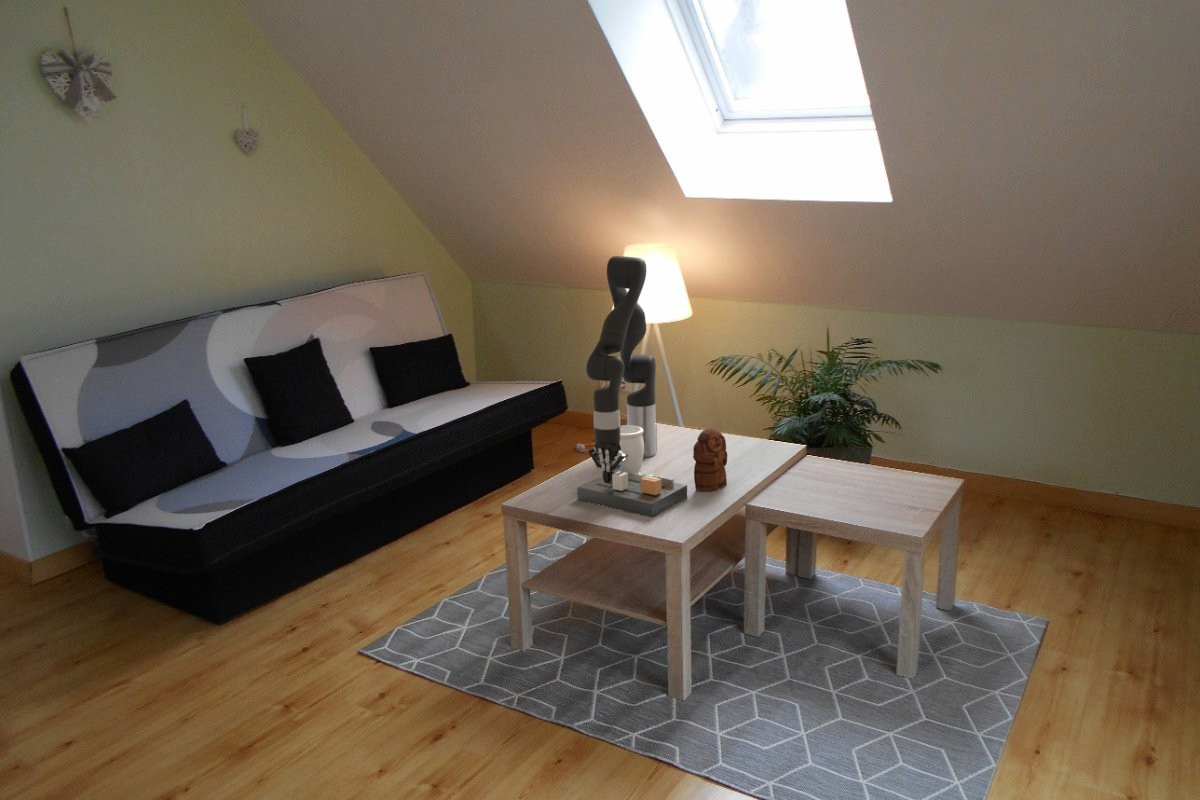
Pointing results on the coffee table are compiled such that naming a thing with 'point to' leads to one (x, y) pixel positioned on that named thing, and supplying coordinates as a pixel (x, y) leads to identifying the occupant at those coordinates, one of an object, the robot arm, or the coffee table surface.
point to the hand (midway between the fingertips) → (608, 482)
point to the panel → (633, 495)
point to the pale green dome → (649, 475)
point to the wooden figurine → (710, 461)
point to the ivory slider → (620, 480)
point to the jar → (632, 447)
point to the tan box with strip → (651, 485)
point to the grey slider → (622, 468)
